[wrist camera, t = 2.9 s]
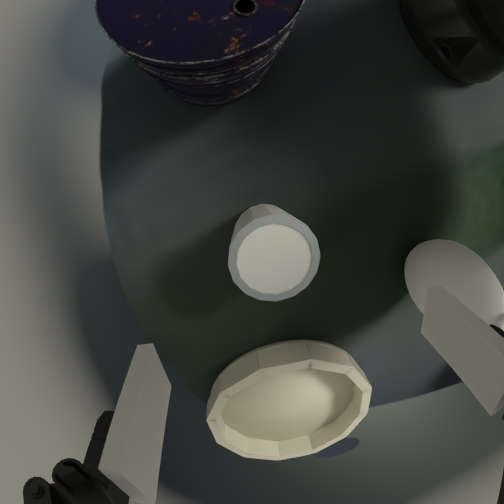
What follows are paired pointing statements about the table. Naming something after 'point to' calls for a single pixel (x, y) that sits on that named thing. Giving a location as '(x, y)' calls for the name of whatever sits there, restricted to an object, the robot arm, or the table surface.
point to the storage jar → (201, 42)
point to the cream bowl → (287, 400)
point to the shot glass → (272, 253)
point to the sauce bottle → (455, 278)
